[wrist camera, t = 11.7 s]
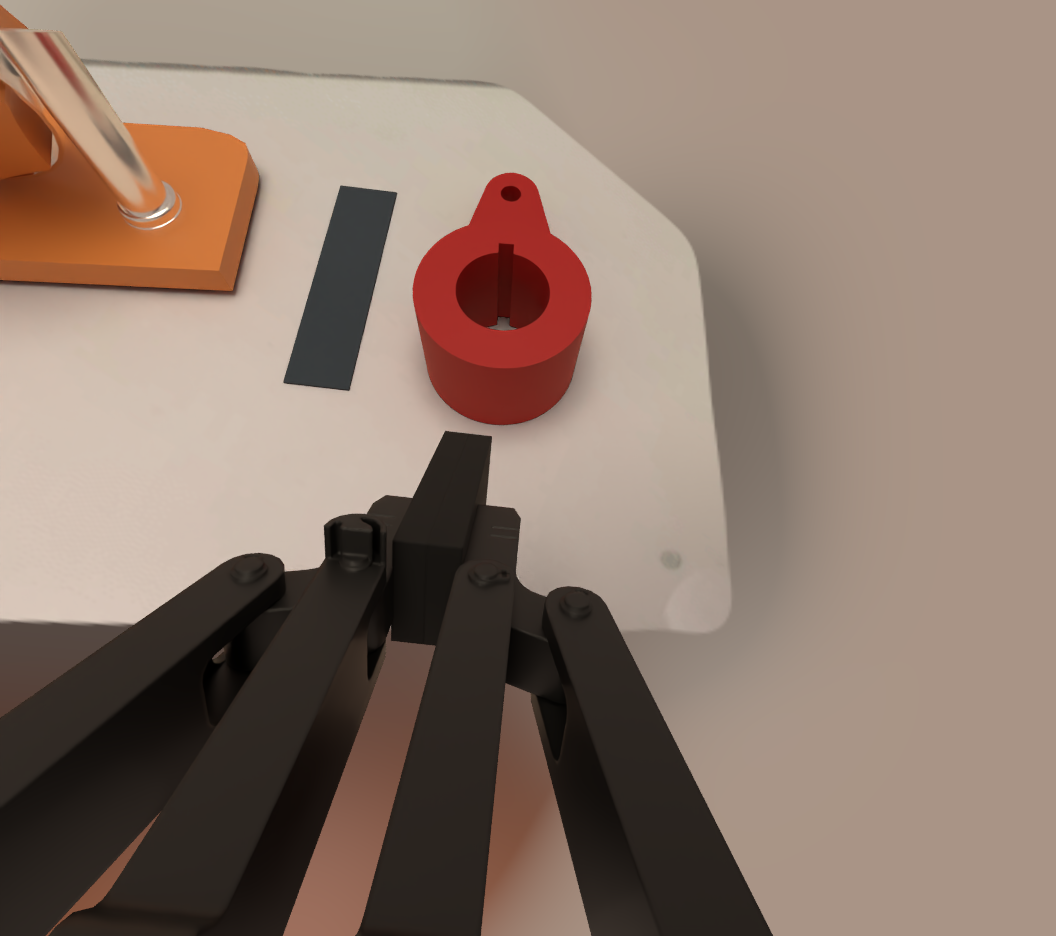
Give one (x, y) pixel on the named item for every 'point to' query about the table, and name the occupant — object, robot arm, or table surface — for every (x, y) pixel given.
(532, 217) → the lever
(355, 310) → the strip
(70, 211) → the desk clock
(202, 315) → the table surface
